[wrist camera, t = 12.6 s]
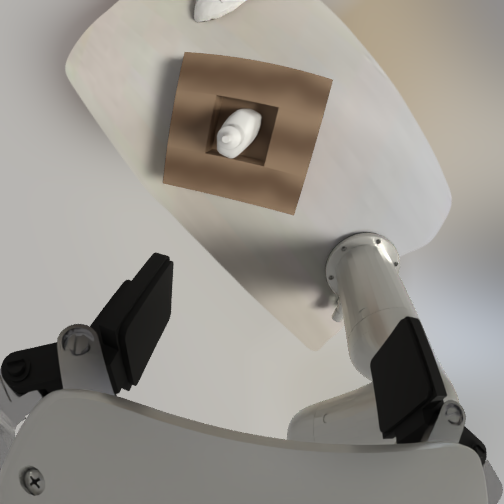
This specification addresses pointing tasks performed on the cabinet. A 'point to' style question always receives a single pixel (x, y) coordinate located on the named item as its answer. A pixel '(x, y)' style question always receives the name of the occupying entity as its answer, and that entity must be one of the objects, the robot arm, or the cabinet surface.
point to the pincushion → (214, 8)
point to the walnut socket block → (267, 140)
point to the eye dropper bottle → (238, 132)
